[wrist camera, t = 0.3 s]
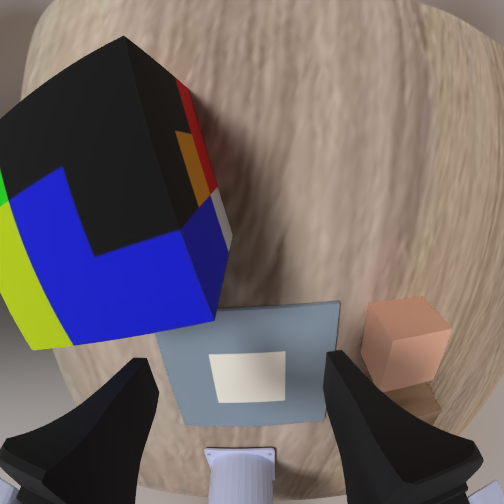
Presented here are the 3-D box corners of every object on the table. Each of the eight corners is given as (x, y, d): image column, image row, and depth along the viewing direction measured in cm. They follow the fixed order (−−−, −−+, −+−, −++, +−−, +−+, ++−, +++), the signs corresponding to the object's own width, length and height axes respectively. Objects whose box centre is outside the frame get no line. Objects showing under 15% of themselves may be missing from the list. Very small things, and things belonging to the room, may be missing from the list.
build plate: (323, 417, 25) (324, 420, 25) (186, 422, 26) (185, 425, 25) (338, 300, 21) (340, 303, 20) (151, 309, 21) (149, 312, 21)
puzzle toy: (232, 235, 19) (214, 320, 10) (107, 271, 20) (32, 350, 11) (188, 89, 16) (123, 35, 6) (63, 146, 17) (-41, 162, 7)
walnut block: (409, 406, 26) (424, 438, 21) (370, 416, 26) (382, 450, 21) (422, 376, 24) (441, 409, 19) (380, 386, 24) (396, 423, 20)
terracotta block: (409, 343, 22) (433, 379, 18) (360, 352, 23) (378, 393, 18) (421, 295, 21) (452, 328, 16) (368, 302, 21) (392, 340, 16)
